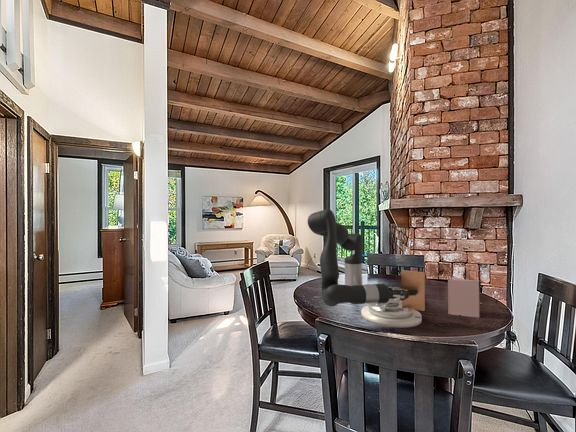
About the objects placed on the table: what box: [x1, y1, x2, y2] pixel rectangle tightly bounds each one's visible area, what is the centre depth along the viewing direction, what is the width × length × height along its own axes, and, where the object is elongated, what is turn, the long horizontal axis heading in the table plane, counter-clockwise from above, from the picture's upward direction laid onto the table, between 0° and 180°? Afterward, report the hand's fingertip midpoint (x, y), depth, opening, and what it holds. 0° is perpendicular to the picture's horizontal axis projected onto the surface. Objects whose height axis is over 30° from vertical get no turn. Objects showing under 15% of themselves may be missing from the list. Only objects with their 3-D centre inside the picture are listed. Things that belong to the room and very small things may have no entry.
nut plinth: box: [360, 305, 423, 329], centre depth 125 cm, size 24×24×2 cm
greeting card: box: [447, 276, 480, 319], centre depth 127 cm, size 11×7×15 cm, turn 32°
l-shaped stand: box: [367, 269, 426, 319], centre depth 124 cm, size 22×18×18 cm
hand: (415, 292), depth 118 cm, fingers closed
